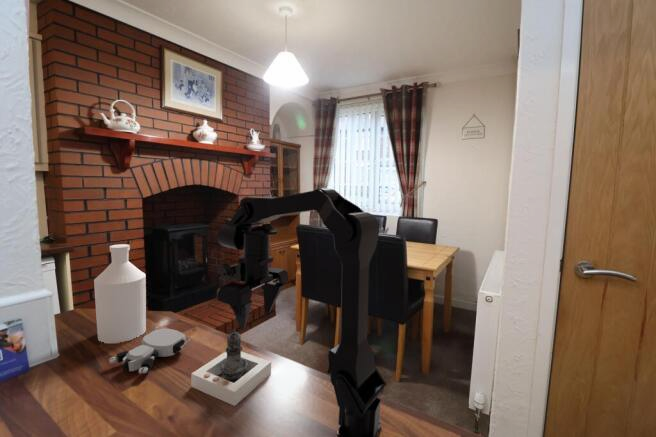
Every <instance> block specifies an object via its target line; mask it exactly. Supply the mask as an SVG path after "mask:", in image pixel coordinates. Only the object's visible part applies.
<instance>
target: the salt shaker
mask: <svg viewBox="0 0 656 437" xmlns="http://www.w3.org/2000/svg"><path fill="white" fill-rule="evenodd" d="M226 339H227V340H226V344H227V347H226V348H225V349H224V350H225V351H224V352H226V353H227V359H226V361H224V362H223V363H222V364H221V365H220V370H221V375H222V376H223V377H222V378H223V379H225V380H228V381H230V382H233V383H235V382H236V381H237V380H239V379H240V378H241V377H243V376H244V375H245V373H246V371H245V370H246V367H247V362H246V361H245V360H244V359H241V352H242V350H243V347H242V345H241V344H242V343H241V340H242V339H241V334H240V333H239V332H237V331H236V329H235V328H234V329H233V330H232V331H231V332H230V333H229V334H228V335H227V338H226Z"/></svg>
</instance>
